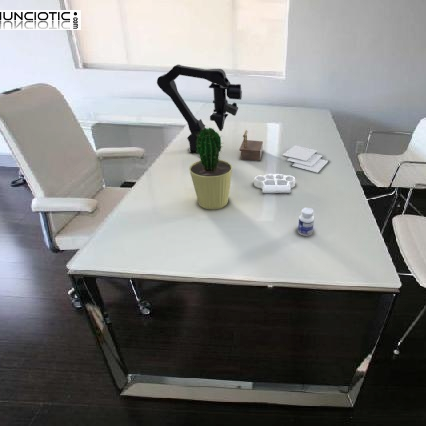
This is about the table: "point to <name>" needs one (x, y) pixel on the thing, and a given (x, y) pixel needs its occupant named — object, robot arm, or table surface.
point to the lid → (250, 144)
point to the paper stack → (305, 158)
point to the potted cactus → (210, 172)
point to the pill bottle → (306, 222)
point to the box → (251, 155)
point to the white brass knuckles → (274, 183)
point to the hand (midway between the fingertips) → (221, 130)
